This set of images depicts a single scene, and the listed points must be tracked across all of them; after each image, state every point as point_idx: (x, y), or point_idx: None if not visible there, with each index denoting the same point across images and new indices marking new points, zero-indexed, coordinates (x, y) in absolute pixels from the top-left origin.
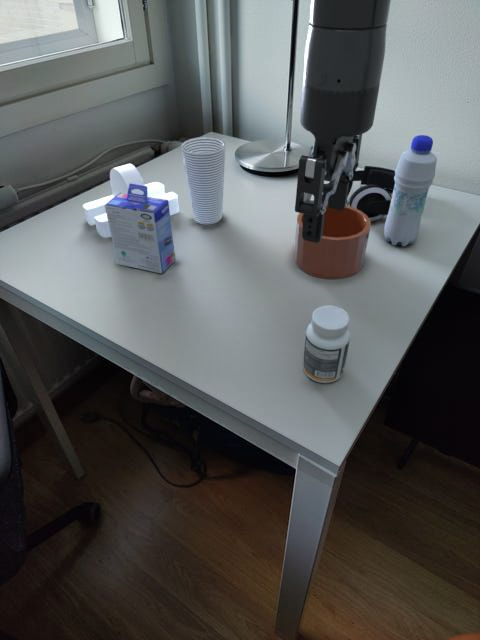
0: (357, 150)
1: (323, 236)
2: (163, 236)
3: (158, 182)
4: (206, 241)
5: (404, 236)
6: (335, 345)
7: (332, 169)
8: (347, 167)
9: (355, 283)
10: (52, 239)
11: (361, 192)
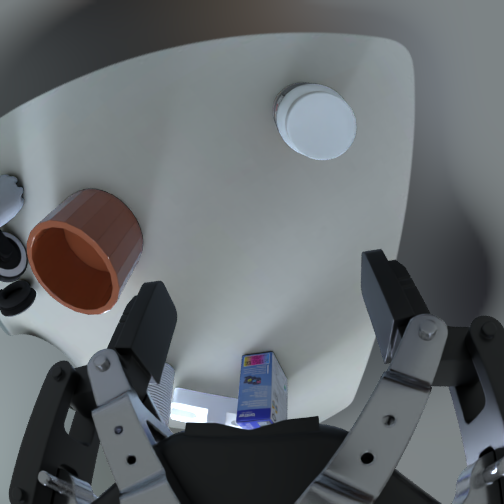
0: (50, 426)
1: (106, 263)
2: (260, 388)
3: (171, 417)
4: (191, 351)
5: (9, 185)
6: (340, 96)
7: (391, 484)
8: (145, 420)
9: (110, 175)
10: (290, 417)
11: (5, 275)
